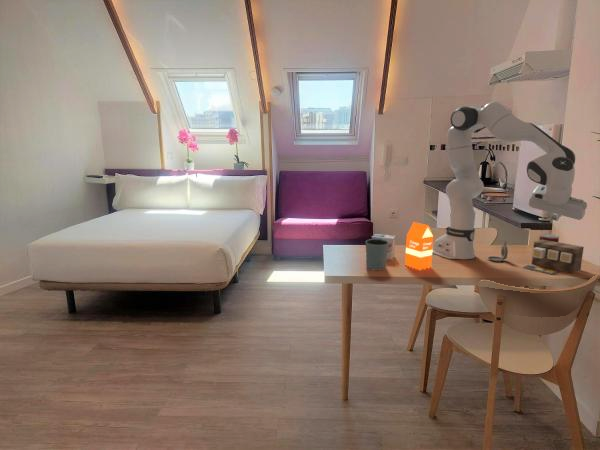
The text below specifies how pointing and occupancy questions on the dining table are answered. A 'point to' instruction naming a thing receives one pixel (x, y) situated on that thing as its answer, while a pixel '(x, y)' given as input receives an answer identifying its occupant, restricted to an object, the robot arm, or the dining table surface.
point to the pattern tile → (540, 269)
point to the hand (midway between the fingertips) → (554, 219)
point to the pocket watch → (503, 254)
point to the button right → (566, 257)
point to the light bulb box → (390, 243)
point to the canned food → (549, 237)
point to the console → (559, 264)
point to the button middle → (553, 254)
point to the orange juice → (419, 246)
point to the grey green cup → (376, 253)
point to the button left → (539, 252)
